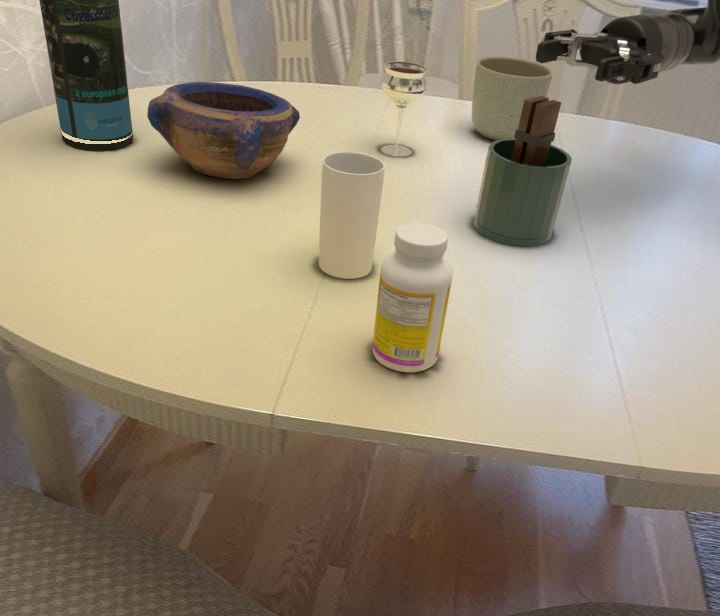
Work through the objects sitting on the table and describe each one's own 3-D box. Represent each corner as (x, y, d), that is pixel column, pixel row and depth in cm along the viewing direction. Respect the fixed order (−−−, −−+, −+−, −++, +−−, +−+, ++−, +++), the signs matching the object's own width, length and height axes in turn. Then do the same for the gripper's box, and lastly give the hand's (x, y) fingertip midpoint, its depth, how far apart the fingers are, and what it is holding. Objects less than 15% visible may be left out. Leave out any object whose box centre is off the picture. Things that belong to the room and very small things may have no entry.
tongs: (512, 213, 103) (540, 94, 93) (534, 223, 101) (564, 102, 91) (494, 220, 100) (521, 98, 90) (516, 230, 99) (545, 107, 89)
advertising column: (93, 121, 117) (60, -124, 97) (153, 138, 114) (131, -112, 94) (41, 140, 110) (-8, -123, 90) (103, 158, 106) (67, -109, 86)
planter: (520, 154, 124) (536, 82, 117) (453, 135, 128) (464, 64, 121) (546, 136, 132) (563, 68, 125) (483, 119, 137) (495, 52, 129)
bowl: (313, 164, 112) (317, 91, 106) (251, 203, 100) (250, 123, 93) (210, 137, 117) (208, 66, 110) (138, 171, 104) (130, 93, 98)
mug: (360, 286, 85) (370, 179, 77) (306, 271, 87) (311, 165, 79) (392, 252, 92) (404, 152, 84) (342, 239, 94) (349, 139, 86)
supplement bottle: (406, 332, 79) (424, 212, 70) (450, 362, 75) (475, 239, 67) (357, 350, 75) (369, 226, 67) (401, 383, 72) (420, 256, 63)
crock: (542, 216, 105) (561, 142, 99) (558, 249, 98) (580, 171, 91) (468, 210, 105) (483, 135, 98) (479, 243, 97) (496, 164, 90)
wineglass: (366, 147, 120) (373, 63, 112) (396, 140, 124) (406, 59, 116) (395, 161, 116) (405, 76, 108) (426, 154, 120) (438, 71, 112)
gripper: (598, 3, 100) (527, 12, 91) (697, 27, 93) (631, 40, 84) (582, 66, 105) (513, 80, 96) (675, 93, 98) (610, 112, 89)
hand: (569, 61), depth 90 cm, fingers open, 8 cm apart
